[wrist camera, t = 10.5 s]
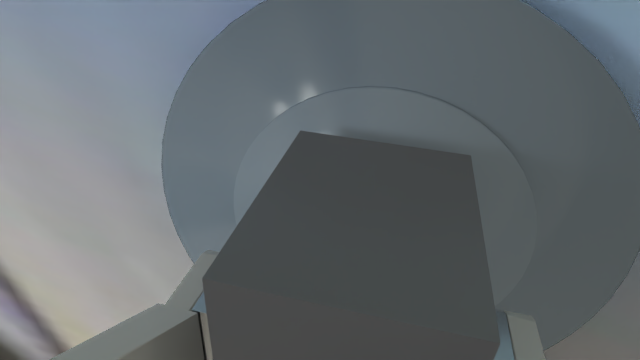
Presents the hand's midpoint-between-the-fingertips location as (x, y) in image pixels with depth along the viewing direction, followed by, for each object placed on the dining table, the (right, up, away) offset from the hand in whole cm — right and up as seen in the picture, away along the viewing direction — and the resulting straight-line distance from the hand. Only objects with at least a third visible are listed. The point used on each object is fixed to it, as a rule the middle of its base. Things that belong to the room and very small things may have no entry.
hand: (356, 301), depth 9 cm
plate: (+1, +2, +3) cm, 4 cm away
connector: (0, 0, +2) cm, 2 cm away
